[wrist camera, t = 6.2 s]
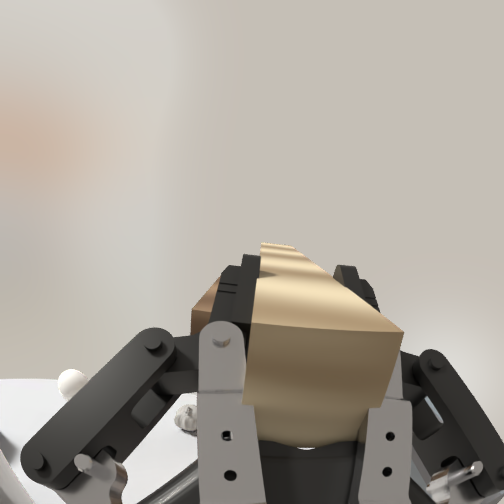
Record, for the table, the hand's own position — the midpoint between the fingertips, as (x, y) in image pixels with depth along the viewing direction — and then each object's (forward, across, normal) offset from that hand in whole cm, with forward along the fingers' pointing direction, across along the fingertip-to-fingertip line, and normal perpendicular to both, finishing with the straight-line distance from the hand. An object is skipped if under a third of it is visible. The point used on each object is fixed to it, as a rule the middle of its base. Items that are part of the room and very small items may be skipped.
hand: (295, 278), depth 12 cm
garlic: (+8, +11, +45) cm, 47 cm away
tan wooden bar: (+4, 0, +6) cm, 7 cm away
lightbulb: (+1, +30, +41) cm, 51 cm away
